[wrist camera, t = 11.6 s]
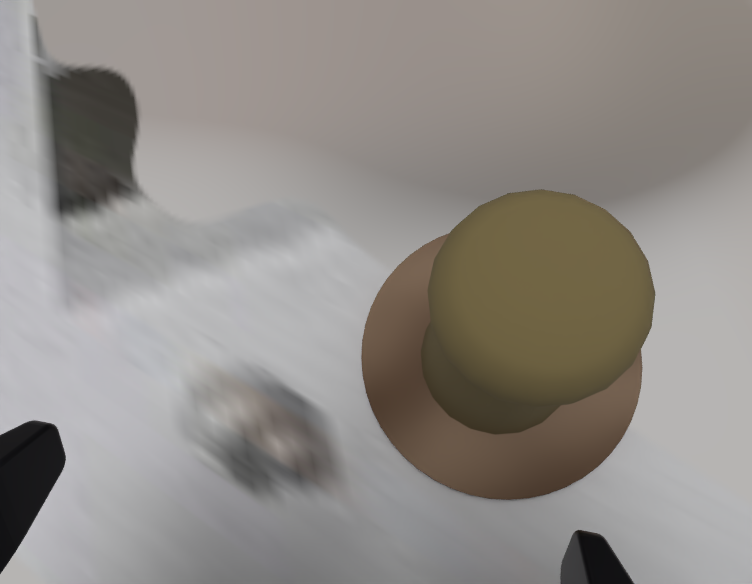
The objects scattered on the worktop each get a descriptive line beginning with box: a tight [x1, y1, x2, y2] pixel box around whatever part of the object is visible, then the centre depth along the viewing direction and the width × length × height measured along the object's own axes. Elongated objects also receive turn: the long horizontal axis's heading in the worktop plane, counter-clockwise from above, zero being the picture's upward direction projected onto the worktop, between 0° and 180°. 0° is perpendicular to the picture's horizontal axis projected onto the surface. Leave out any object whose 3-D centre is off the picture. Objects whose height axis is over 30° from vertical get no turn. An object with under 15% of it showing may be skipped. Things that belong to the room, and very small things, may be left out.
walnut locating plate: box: [362, 233, 642, 500], centre depth 21 cm, size 11×11×4 cm
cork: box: [421, 190, 655, 435], centre depth 17 cm, size 6×6×11 cm
